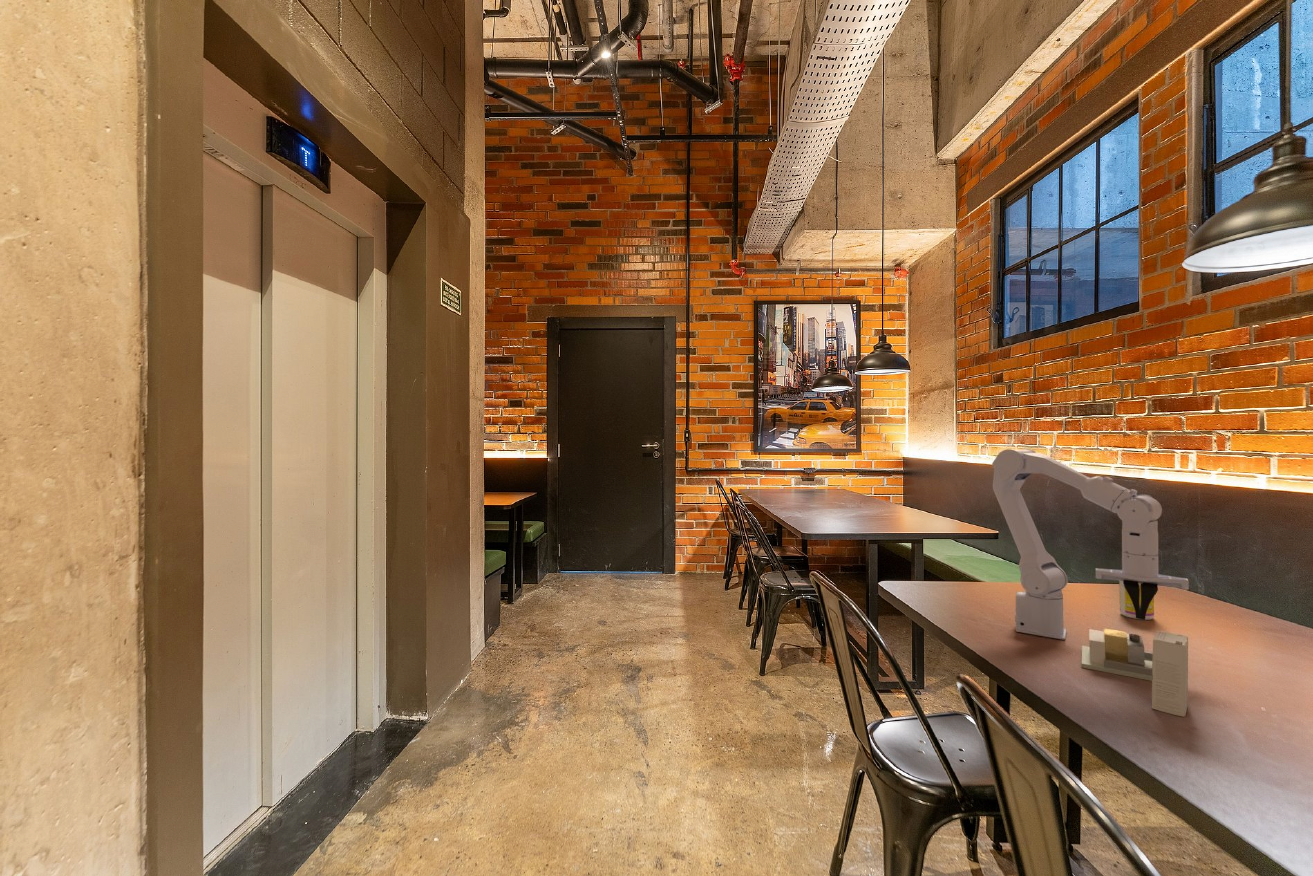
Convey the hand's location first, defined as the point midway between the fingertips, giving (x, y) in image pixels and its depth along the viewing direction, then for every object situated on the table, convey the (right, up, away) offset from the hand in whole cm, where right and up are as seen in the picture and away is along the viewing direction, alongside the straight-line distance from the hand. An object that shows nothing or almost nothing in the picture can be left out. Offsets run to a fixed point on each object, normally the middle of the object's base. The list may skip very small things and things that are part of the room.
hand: (1140, 617), depth 114 cm
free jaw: (-6, -7, -5) cm, 11 cm away
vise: (-7, -8, -4) cm, 12 cm away
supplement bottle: (+22, -9, +26) cm, 35 cm away
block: (-8, -8, -3) cm, 12 cm away
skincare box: (-14, -8, -22) cm, 27 cm away
